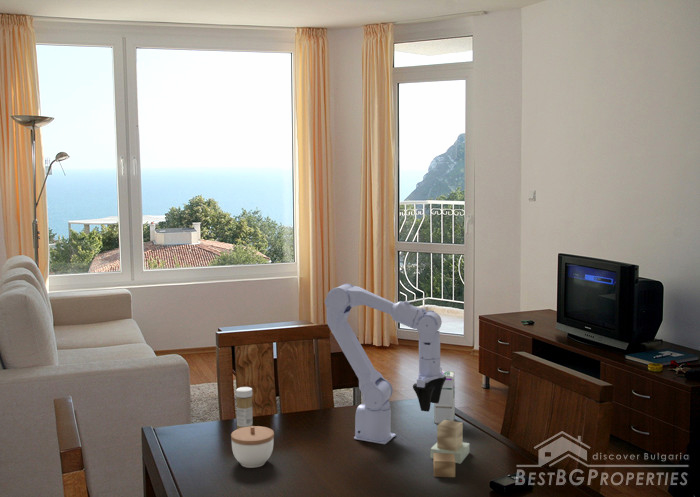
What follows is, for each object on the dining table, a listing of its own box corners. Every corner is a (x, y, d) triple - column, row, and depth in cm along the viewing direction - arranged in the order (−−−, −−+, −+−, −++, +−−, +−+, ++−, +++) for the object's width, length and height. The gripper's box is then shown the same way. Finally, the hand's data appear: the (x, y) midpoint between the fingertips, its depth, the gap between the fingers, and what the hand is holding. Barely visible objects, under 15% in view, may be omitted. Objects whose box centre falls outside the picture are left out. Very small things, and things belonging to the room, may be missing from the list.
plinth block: (430, 460, 177) (430, 448, 177) (440, 449, 184) (440, 438, 184) (460, 465, 174) (460, 453, 173) (469, 454, 181) (469, 443, 181)
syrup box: (453, 424, 202) (454, 376, 201) (433, 423, 203) (434, 375, 202) (454, 418, 208) (455, 371, 206) (435, 417, 209) (435, 370, 208)
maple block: (437, 448, 177) (437, 425, 177) (444, 441, 182) (444, 419, 181) (455, 451, 175) (455, 428, 174) (462, 445, 179) (462, 422, 179)
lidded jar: (239, 474, 166) (238, 437, 166) (225, 459, 176) (225, 423, 175) (280, 466, 171) (280, 430, 170) (265, 452, 181) (265, 417, 180)
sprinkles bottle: (248, 431, 196) (247, 385, 195) (255, 436, 192) (255, 389, 191) (233, 434, 193) (233, 388, 192) (240, 439, 190) (240, 392, 188)
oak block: (434, 477, 166) (434, 460, 165) (433, 468, 171) (433, 453, 170) (455, 477, 165) (455, 461, 165) (453, 469, 170) (453, 453, 170)
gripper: (434, 364, 176) (435, 416, 177) (452, 352, 189) (452, 400, 190) (409, 362, 179) (409, 413, 181) (428, 350, 192) (428, 398, 193)
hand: (430, 406), depth 186 cm, fingers open, 7 cm apart
